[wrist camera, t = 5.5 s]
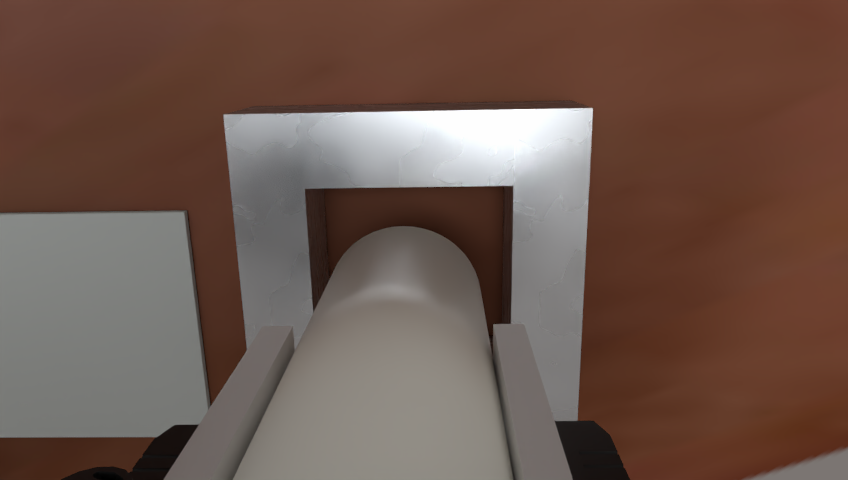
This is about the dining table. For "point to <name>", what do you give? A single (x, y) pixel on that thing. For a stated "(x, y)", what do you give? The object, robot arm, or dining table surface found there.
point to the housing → (419, 167)
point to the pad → (99, 325)
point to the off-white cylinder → (389, 374)
